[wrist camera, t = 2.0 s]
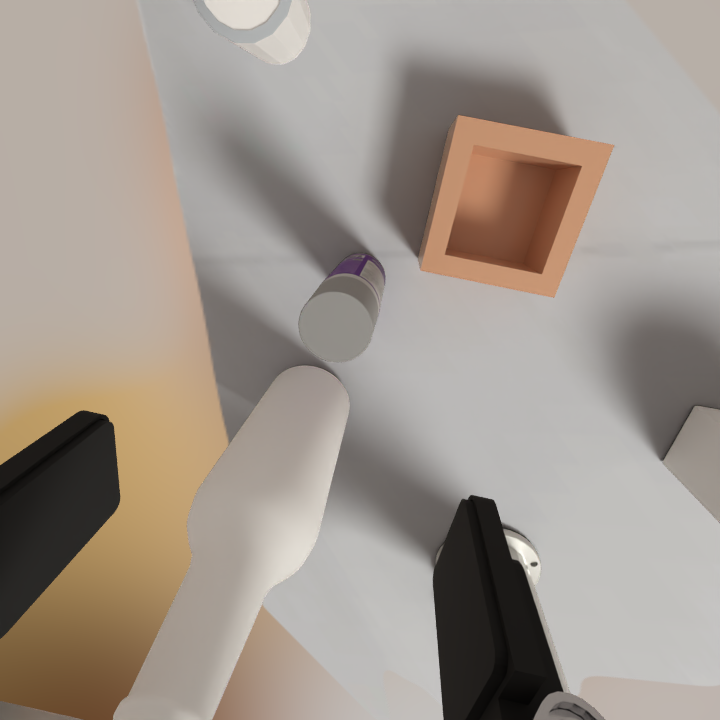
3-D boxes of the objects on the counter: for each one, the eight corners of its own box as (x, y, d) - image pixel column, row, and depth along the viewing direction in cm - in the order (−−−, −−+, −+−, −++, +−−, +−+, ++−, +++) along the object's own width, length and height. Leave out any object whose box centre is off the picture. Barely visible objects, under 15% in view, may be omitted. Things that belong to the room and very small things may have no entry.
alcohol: (349, 363, 40) (234, 725, 13) (351, 435, 44) (263, 842, 16) (267, 360, 41) (-7, 695, 14) (275, 431, 45) (69, 811, 17)
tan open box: (530, 281, 35) (554, 297, 30) (417, 258, 35) (420, 270, 30) (577, 153, 31) (614, 145, 26) (448, 128, 31) (458, 114, 26)
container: (330, 294, 38) (289, 351, 24) (343, 246, 36) (305, 278, 22) (377, 308, 38) (362, 373, 24) (392, 261, 36) (385, 303, 22)
